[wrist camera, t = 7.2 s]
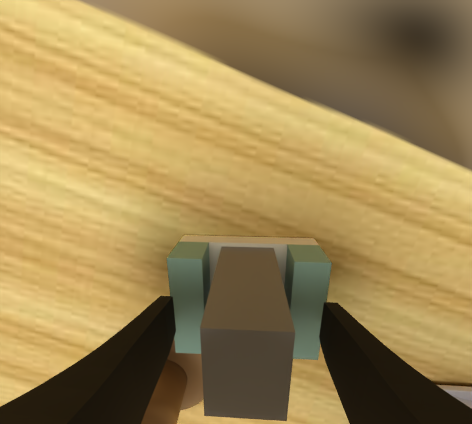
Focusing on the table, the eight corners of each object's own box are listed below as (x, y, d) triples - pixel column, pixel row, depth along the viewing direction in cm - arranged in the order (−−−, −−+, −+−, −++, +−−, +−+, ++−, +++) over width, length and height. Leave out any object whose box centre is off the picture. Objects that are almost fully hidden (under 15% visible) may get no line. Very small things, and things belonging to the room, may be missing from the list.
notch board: (313, 238, 13) (331, 262, 10) (304, 319, 15) (317, 359, 12) (183, 234, 14) (166, 258, 11) (188, 314, 15) (175, 352, 13)
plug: (273, 247, 13) (295, 332, 7) (270, 306, 14) (286, 421, 8) (221, 246, 13) (199, 327, 7) (222, 304, 14) (204, 415, 8)
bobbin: (210, 332, 16) (186, 456, 9) (213, 402, 18) (194, 542, 11) (116, 328, 16) (31, 444, 10) (128, 396, 18) (64, 530, 12)
